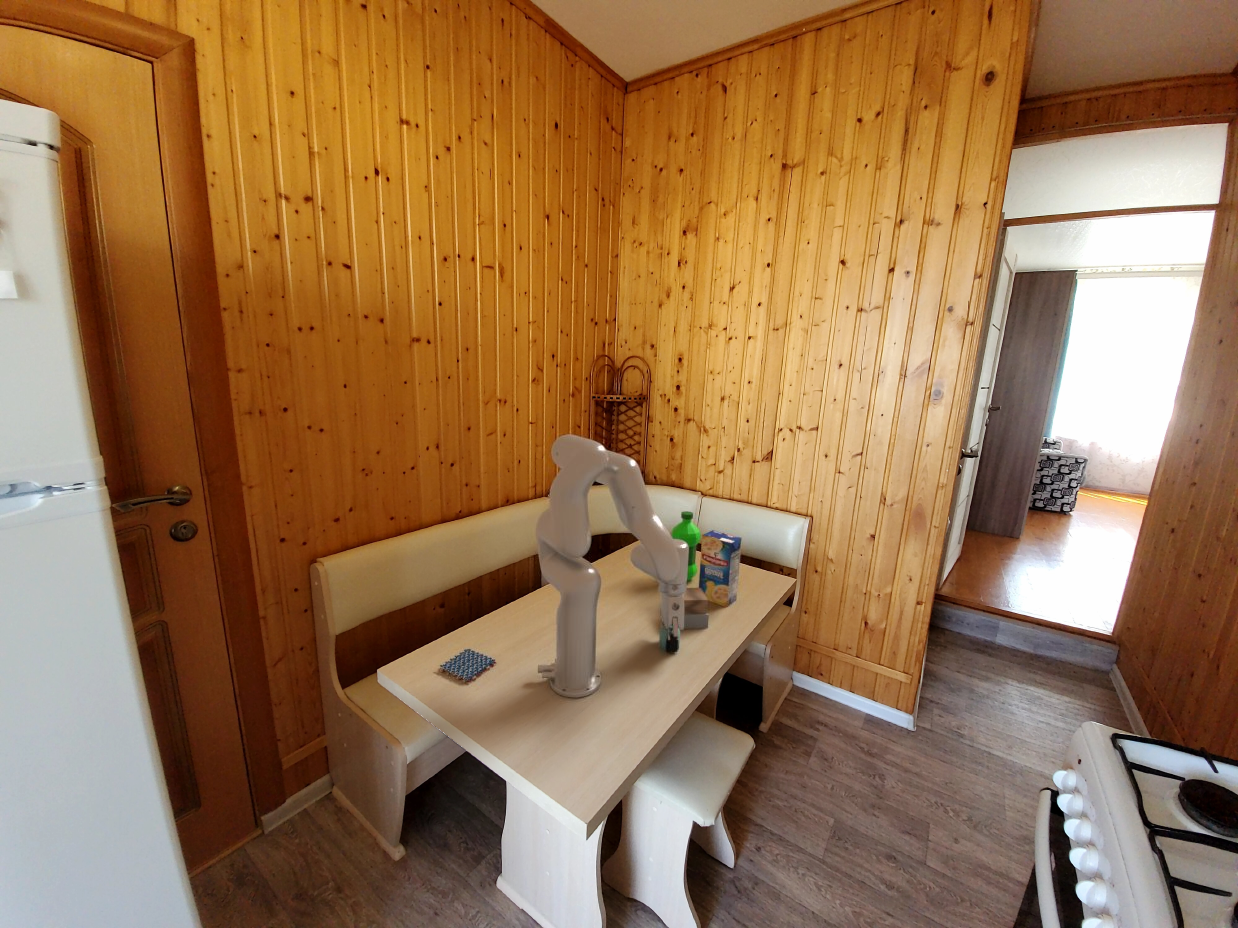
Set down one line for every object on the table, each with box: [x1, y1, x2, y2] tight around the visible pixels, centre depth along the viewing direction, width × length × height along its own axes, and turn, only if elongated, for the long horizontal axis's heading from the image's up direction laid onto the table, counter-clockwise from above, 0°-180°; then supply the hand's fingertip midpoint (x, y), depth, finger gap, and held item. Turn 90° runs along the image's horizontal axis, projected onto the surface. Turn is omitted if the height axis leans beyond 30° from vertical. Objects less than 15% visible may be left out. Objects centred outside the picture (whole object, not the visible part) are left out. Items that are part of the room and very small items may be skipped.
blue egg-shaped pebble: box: [658, 625, 681, 653], centre depth 137 cm, size 6×6×5 cm
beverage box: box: [698, 529, 742, 608], centre depth 165 cm, size 7×11×22 cm, turn 50°
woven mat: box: [439, 648, 497, 685], centre depth 125 cm, size 10×11×2 cm
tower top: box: [684, 587, 709, 614], centre depth 151 cm, size 8×8×4 cm
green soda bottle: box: [671, 510, 702, 582], centre depth 179 cm, size 10×10×25 cm
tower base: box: [678, 611, 710, 629], centre depth 151 cm, size 9×9×4 cm
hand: (669, 644), depth 137 cm, fingers closed on blue egg-shaped pebble, 5 cm apart
